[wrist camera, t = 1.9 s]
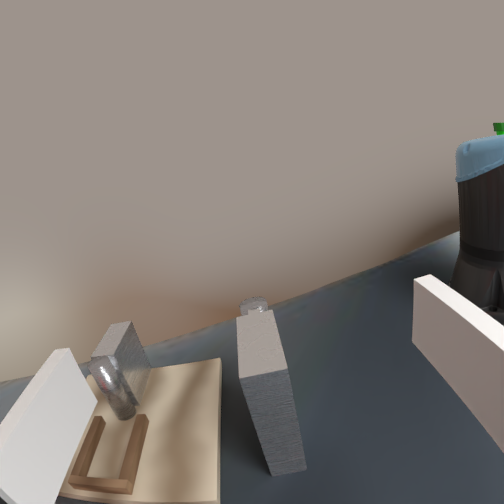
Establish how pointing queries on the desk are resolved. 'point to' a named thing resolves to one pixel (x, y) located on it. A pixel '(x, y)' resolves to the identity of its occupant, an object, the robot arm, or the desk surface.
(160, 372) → the hinge base
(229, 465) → the desk surface
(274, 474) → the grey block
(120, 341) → the fixed leaf
